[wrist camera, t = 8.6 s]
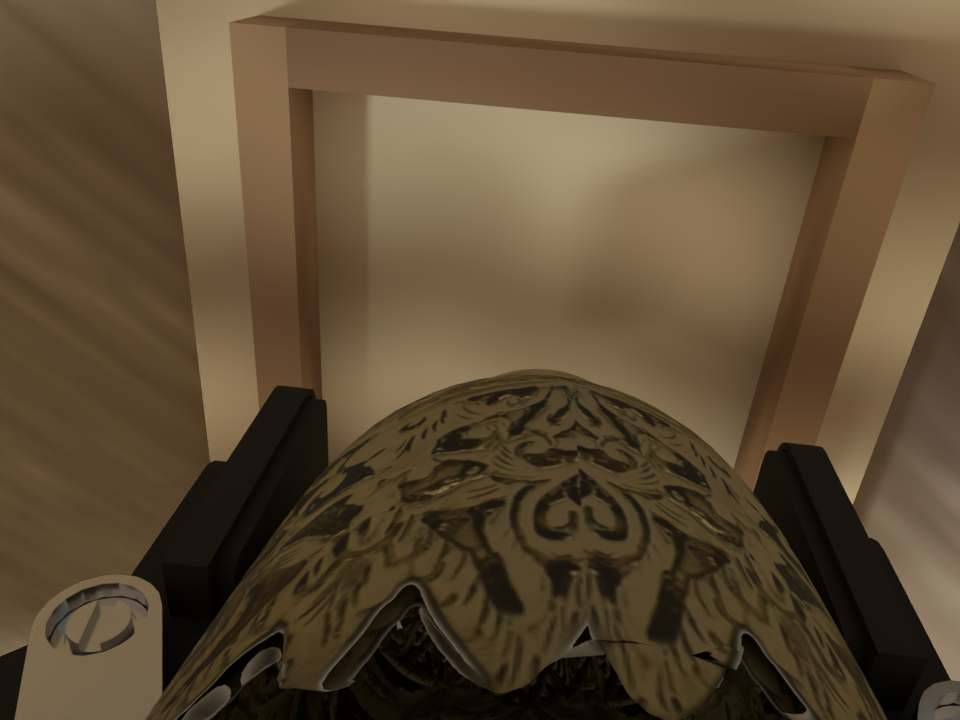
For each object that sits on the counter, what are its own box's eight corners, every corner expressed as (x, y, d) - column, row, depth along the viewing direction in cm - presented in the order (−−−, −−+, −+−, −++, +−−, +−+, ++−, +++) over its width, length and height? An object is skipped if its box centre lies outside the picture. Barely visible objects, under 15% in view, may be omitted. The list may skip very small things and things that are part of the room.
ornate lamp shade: (710, 629, 15) (838, 1245, 8) (330, 581, 15) (128, 1127, 8) (820, 263, 11) (1237, 796, 4) (320, 212, 12) (-52, 624, 5)
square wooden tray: (796, 600, 22) (822, 675, 20) (234, 533, 23) (199, 597, 20) (1029, -45, 14) (1115, -43, 12) (167, -112, 15) (97, -122, 13)
